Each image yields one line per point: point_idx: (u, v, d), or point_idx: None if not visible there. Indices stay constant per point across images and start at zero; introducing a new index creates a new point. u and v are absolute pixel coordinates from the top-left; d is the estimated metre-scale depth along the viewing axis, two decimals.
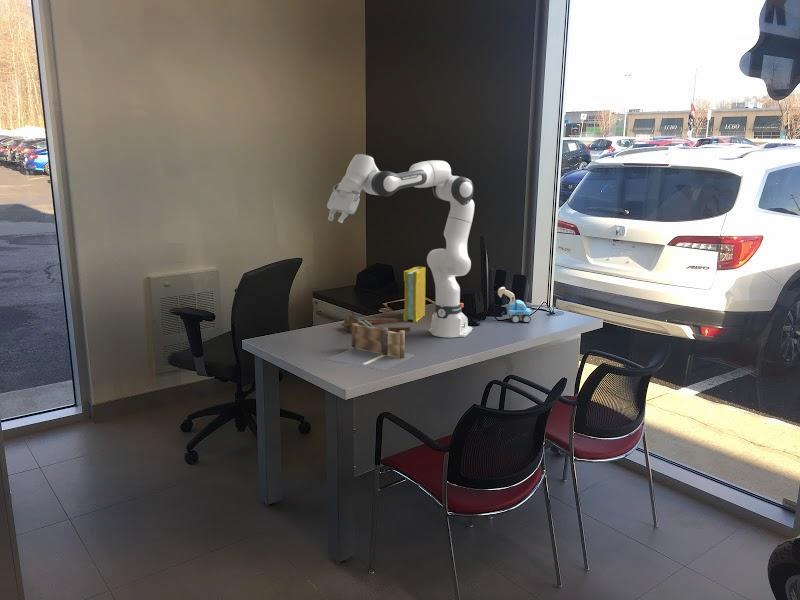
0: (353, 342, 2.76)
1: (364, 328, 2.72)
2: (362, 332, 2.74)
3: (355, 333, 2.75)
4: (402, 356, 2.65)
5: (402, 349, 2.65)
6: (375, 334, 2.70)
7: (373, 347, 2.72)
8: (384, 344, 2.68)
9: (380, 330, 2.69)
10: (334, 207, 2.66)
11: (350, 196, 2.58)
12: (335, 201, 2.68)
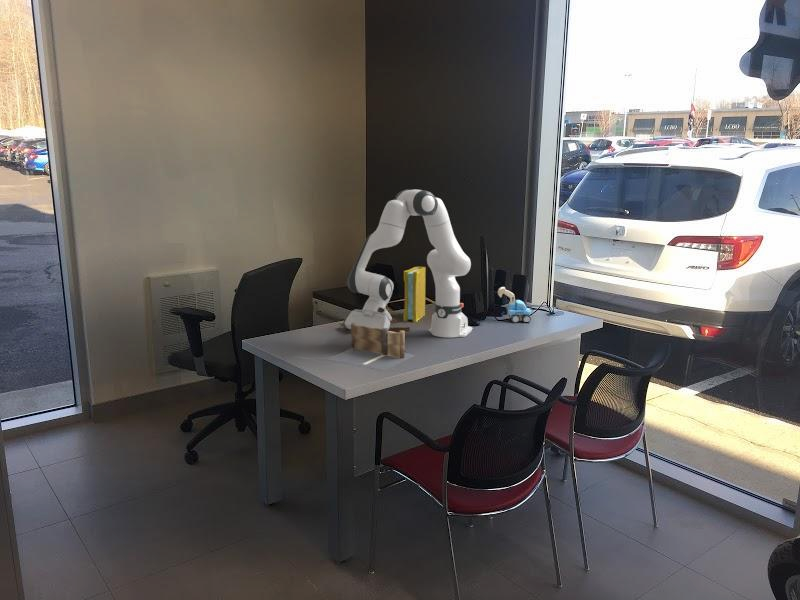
0: (353, 342, 2.76)
1: (364, 328, 2.72)
2: (361, 332, 2.73)
3: (355, 333, 2.75)
4: (402, 356, 2.65)
5: (402, 349, 2.65)
6: (375, 334, 2.70)
7: (373, 347, 2.72)
8: (384, 344, 2.68)
9: (380, 330, 2.69)
10: None
11: None
12: None
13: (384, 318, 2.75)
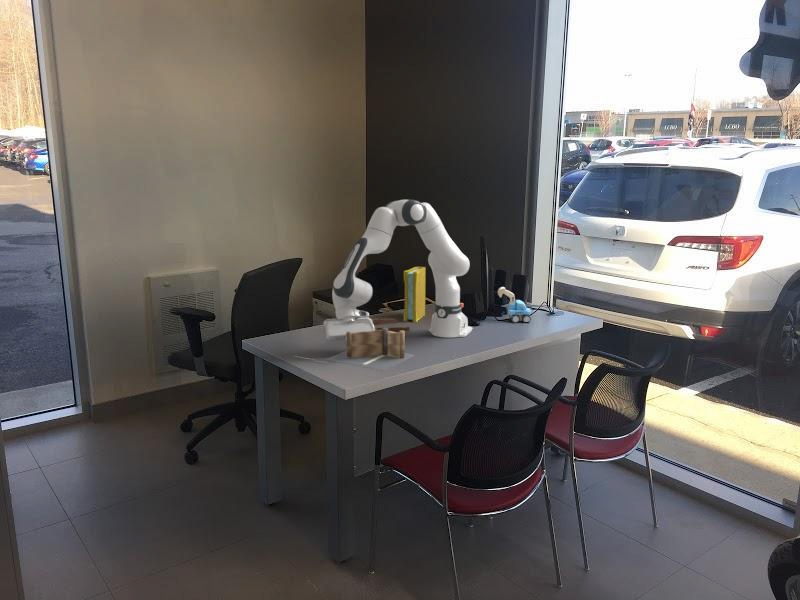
0: (350, 351, 2.63)
1: (363, 333, 2.64)
2: (360, 339, 2.64)
3: (352, 341, 2.63)
4: (402, 356, 2.65)
5: (402, 349, 2.65)
6: (375, 337, 2.66)
7: (373, 350, 2.67)
8: (384, 344, 2.68)
9: (381, 331, 2.67)
10: None
11: None
12: None
13: (370, 320, 2.71)
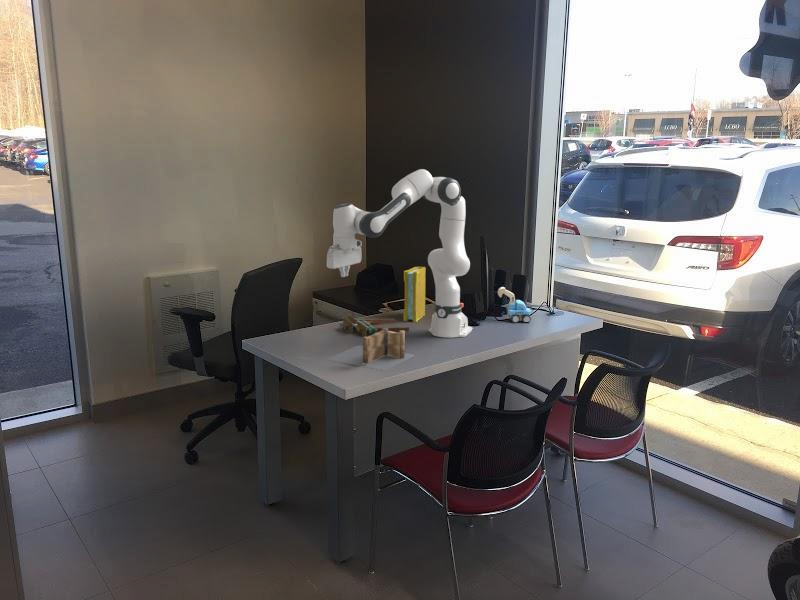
0: (367, 357, 2.56)
1: (374, 336, 2.60)
2: (372, 342, 2.59)
3: (368, 346, 2.56)
4: (402, 356, 2.65)
5: (402, 349, 2.65)
6: (381, 338, 2.64)
7: (379, 352, 2.65)
8: None
9: (384, 332, 2.66)
10: None
11: None
12: None
13: (360, 250, 2.78)
